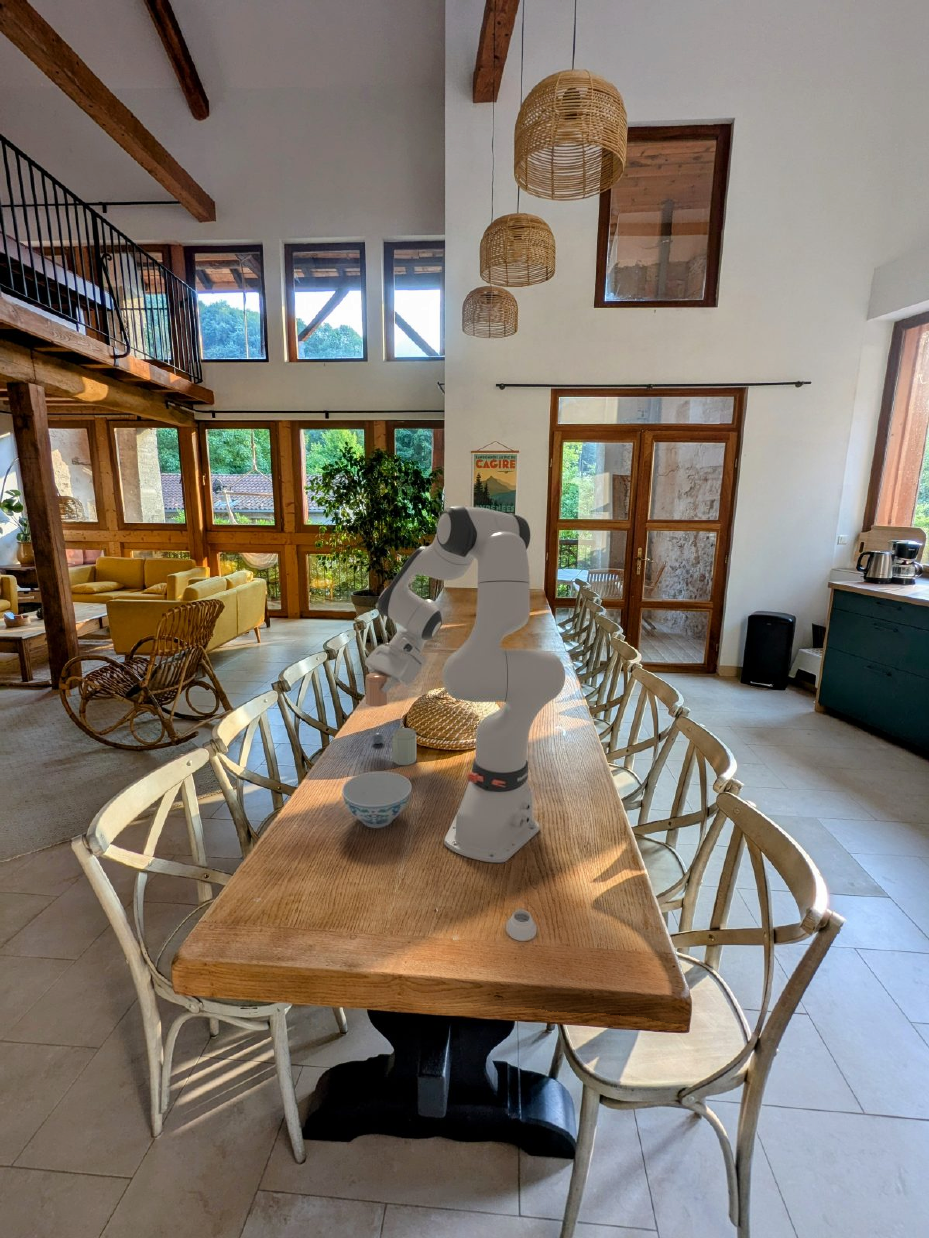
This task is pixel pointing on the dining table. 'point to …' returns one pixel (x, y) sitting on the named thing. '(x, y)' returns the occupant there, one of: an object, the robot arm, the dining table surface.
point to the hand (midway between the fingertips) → (375, 687)
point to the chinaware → (377, 797)
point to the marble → (377, 738)
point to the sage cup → (404, 746)
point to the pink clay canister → (376, 689)
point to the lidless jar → (521, 926)
